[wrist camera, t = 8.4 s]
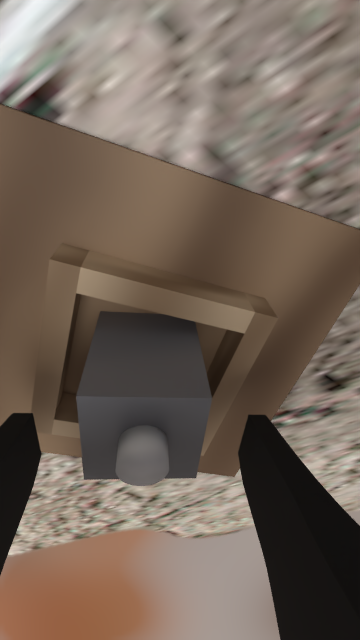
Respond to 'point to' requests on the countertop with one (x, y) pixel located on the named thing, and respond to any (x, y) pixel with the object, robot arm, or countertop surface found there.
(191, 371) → the connector plug
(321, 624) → the robot arm
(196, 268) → the end holder
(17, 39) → the countertop surface
